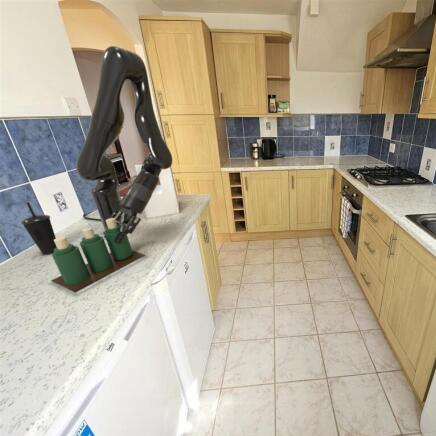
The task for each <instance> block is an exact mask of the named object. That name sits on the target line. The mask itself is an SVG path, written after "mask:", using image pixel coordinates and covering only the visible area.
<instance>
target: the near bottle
mask: <svg viewBox="0 0 436 436" xmlns="http://www.w3.org/2000/svg"><path fill="white" fill-rule="evenodd" d="M54 242H55V244H56V246H57V248H55V249H54V252H53V253H52V254H51V257H52V260H53V261H54V263H55V265H56V267H57V269H58V271H59V273H60V276H61V275H62V277H63V279H64V282H65V284H67V285H73V284H77V283H80V282H82V281H84V280H86V279H87V278H88V277H89V276H90V274H89V271H88V269H87V267H86V264H87V263H86V261H85V260H84V257H83V254H82V252H81V250H80V248H79V246H77V245H74V244H73V243H69V242H68V239H67V237H66V236H60V237H56V239H54Z"/></svg>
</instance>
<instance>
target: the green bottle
mask: <svg viewBox="0 0 436 436" xmlns="http://www.w3.org/2000/svg"><path fill="white" fill-rule="evenodd" d="M106 223H107V226H108V227H107V228H106V229H104V231H103V235H104V236H105V238H104V239H105V242H106V243H107V247H108V249H109V251H110V253H111V254H112V257H113V259H114V260H122V259H125V258H128V257H130V256H131V255H132V254H133V252H132V251H133V249H132V246H131V243H130V240H129V238H128V237H129V236H128V234H126V235H125V237H124V239H123V241H122V242H121V244H117V243H114V242H113V241H114V239H115V237H116V236H117V234H118V232H120V228H121V226H120V225H117V223H116V220H115V218H110V219H107V220H106ZM105 230H106V231H105ZM104 236H103V237H104Z"/></svg>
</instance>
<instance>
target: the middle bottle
mask: <svg viewBox="0 0 436 436" xmlns="http://www.w3.org/2000/svg"><path fill="white" fill-rule="evenodd" d="M81 232H82V234H83V237H82V238H81V241H80V242H79V246H80V248H81V251H82V253H83V255H84V258H85V260H86V262H87V263H88V265H89V267H90V270H91V271H92V272H99V271H103V270H106V269H108V268H109V267H111V266H112V264H113V263H112V260H111V257H110V255H109V253H110V252H109V250H108V249H109V248H108V246H107V245H106V240H105V238H104V236H101V235H99V234H98V233H95V231H94V228H93V227H91V226H90V227H85V228H82V229H81Z"/></svg>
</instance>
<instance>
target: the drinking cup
mask: <svg viewBox="0 0 436 436" xmlns="http://www.w3.org/2000/svg"><path fill="white" fill-rule="evenodd" d="M26 206H27V208H28V210H29V212H30V214H31V216H28V217H26V218H25V219H23V220H21V221H20V224H21V225H22V226H23V227H24V228H25V230H26V232H27V233H28V234H29V236H30V238H31V239H32V240H33V242H34V243H35V245H36V246H37V248H38V249H39V251H40V252H41V254H42V255H52V253H53V252H54V249H55V248H57V246H56V244H55V242H54V239H56V238H57V237H56V235H55V231H54V228H53V225H52V221H51V216H50V215H48V214H35V212H34V209H33V208H32V205H31V204H30V202H26Z"/></svg>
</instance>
